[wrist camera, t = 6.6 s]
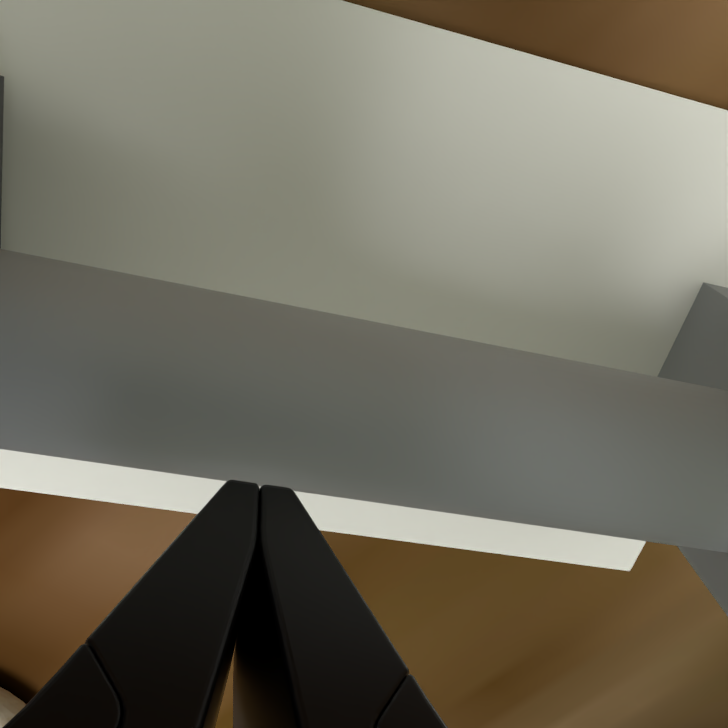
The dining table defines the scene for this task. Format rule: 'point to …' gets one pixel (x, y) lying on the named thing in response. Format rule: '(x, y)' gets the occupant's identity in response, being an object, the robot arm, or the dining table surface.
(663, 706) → the dining table surface
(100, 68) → the pipe rig
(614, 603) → the dining table surface
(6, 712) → the stacking toy
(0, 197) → the collar
